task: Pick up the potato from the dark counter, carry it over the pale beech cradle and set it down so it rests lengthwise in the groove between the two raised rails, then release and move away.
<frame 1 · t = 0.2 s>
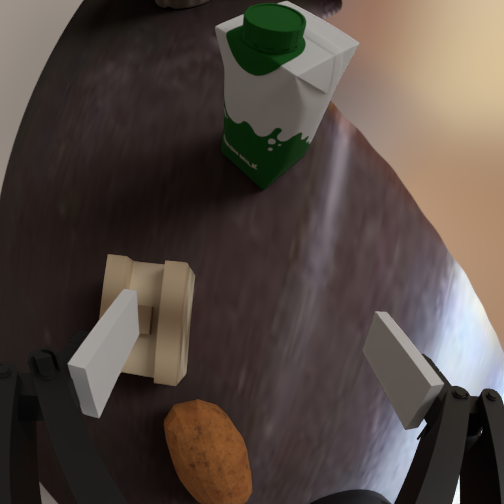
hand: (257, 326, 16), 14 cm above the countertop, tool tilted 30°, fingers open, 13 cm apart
milk carton: (263, 154, 35), on the countertop
cradle: (156, 320, 29), on the countertop
potato: (211, 446, 27), on the countertop
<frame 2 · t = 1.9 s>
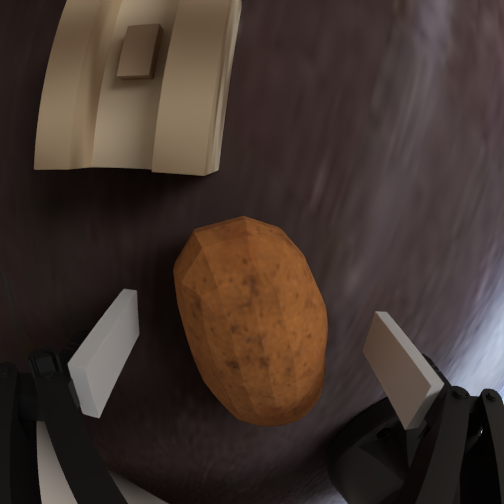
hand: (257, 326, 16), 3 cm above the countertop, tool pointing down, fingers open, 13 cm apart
cradle: (166, 79, 14), on the countertop
potato: (255, 308, 19), on the countertop
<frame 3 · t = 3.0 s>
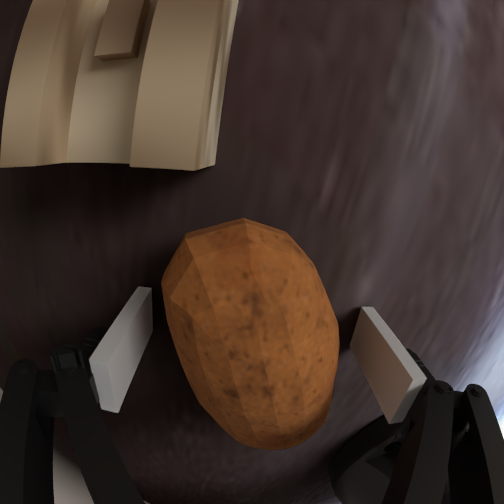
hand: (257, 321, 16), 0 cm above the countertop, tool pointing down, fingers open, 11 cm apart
cradle: (156, 62, 12), on the countertop
potato: (256, 319, 17), on the countertop
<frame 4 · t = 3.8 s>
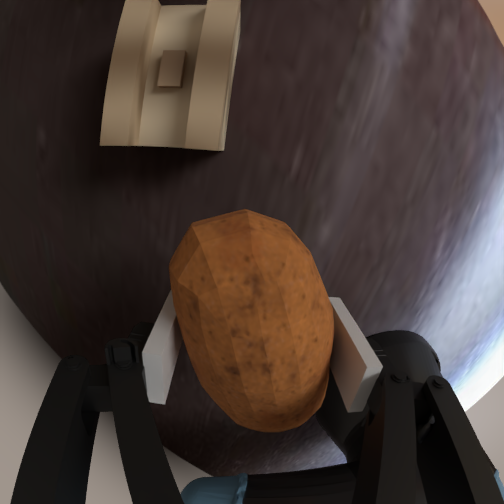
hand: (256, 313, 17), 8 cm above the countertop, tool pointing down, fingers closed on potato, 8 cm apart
cradle: (185, 84, 20), on the countertop
potato: (256, 307, 18), point 8 cm above the countertop, touching gripper
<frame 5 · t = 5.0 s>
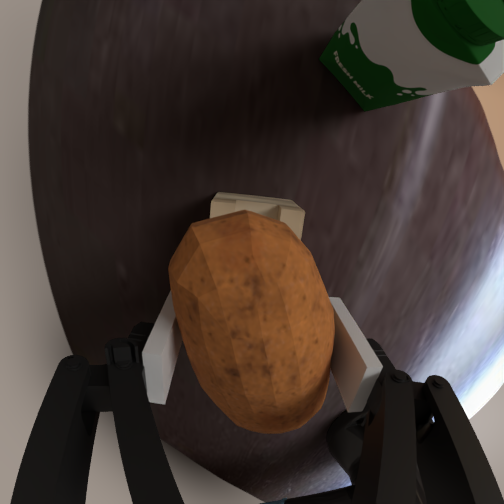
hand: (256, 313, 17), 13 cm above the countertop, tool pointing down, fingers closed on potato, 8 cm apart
milk carton: (364, 67, 25), on the countertop
cradle: (248, 246, 30), on the countertop
potato: (256, 308, 18), point 13 cm above the countertop, touching gripper
when the fingers open (8 cm above the countertop, at t = 6.3 s): potato drops 1 cm, resting on cradle.
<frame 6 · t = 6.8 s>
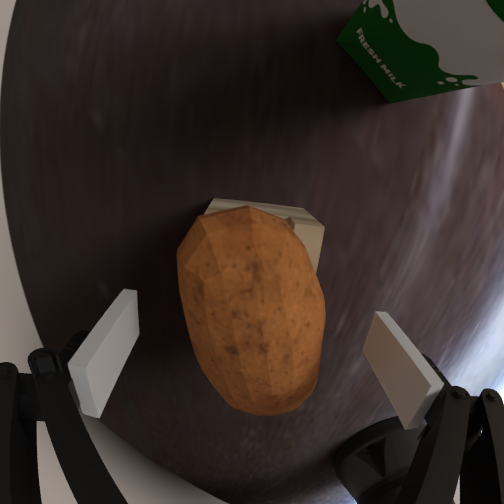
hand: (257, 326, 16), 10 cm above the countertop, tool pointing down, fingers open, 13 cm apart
milk carton: (388, 53, 20), on the countertop
cradle: (251, 263, 25), on the countertop
potato: (254, 298, 19), point 6 cm above the countertop, touching cradle
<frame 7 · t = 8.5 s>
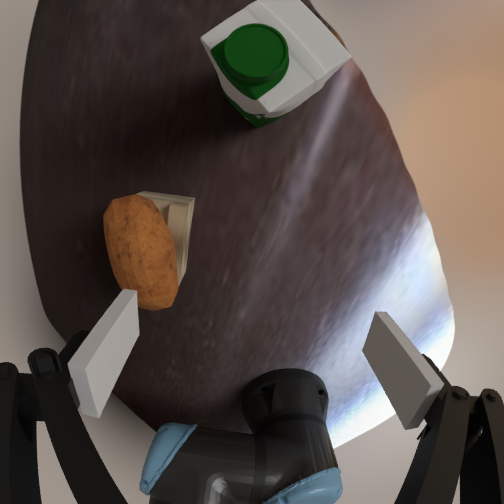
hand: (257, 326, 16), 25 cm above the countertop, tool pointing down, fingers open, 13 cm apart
milk carton: (262, 91, 34), on the countertop
cradle: (164, 231, 39), on the countertop
potato: (150, 245, 33), point 6 cm above the countertop, touching cradle
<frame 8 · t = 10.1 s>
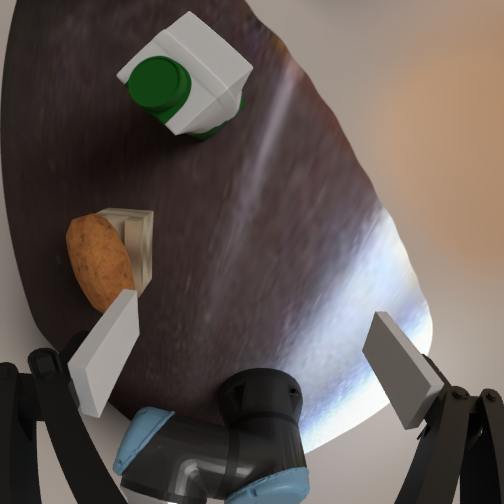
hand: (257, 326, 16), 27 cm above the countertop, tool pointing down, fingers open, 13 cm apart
milk carton: (207, 105, 36), on the countertop
cradle: (129, 243, 41), on the countertop
potato: (112, 257, 35), point 6 cm above the countertop, touching cradle
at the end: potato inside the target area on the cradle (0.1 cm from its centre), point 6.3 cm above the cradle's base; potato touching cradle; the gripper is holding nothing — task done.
